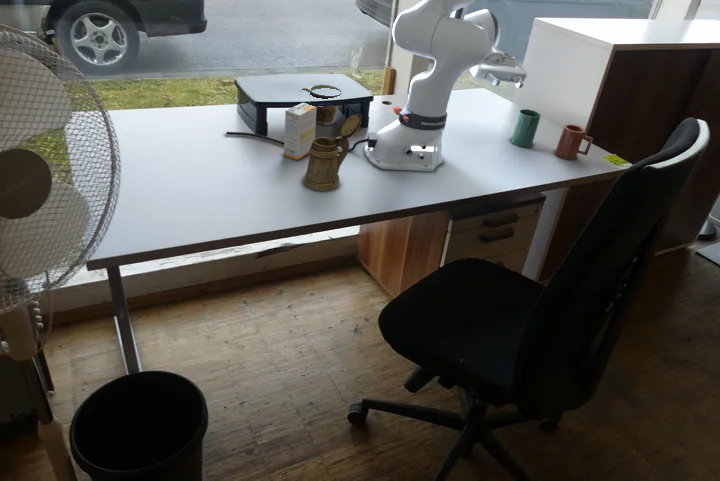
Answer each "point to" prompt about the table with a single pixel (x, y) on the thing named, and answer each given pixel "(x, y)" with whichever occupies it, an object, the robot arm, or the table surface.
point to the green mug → (525, 128)
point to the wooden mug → (329, 157)
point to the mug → (572, 142)
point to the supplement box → (299, 130)
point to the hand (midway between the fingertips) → (509, 84)
